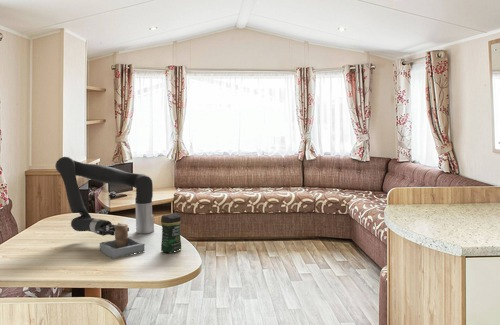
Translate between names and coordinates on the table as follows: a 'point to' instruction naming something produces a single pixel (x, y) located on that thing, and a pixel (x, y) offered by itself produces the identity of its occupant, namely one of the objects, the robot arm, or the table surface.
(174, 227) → the coffee jar
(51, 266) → the table surface
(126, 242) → the brown cylinder
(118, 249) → the grey tub
